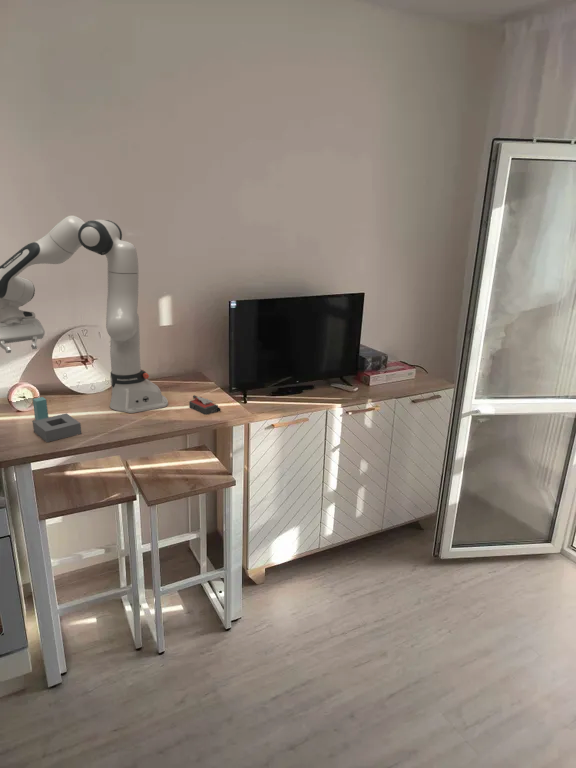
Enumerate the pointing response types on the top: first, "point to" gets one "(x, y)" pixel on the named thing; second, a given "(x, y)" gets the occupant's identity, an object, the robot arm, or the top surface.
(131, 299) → the robot arm
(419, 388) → the top surface
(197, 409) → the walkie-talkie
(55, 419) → the socket
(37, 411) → the plug
